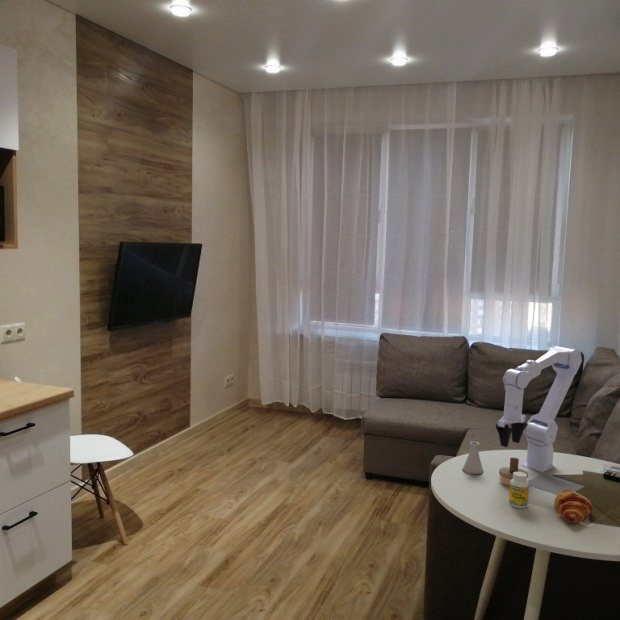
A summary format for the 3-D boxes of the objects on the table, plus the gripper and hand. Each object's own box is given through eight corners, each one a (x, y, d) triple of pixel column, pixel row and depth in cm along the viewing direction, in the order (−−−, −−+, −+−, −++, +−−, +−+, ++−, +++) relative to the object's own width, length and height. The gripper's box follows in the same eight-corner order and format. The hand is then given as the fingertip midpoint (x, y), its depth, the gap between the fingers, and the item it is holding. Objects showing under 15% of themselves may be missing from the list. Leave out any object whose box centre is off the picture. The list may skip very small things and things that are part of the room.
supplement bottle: (527, 502, 185) (529, 472, 184) (527, 509, 180) (530, 478, 179) (508, 499, 187) (510, 469, 186) (508, 506, 182) (510, 475, 181)
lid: (506, 467, 206) (507, 452, 205) (532, 474, 200) (533, 459, 199) (494, 474, 199) (495, 458, 199) (520, 482, 193) (522, 466, 193)
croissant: (561, 508, 190) (549, 484, 191) (593, 499, 187) (582, 474, 187) (561, 536, 171) (548, 509, 172) (597, 526, 167) (584, 499, 168)
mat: (543, 474, 209) (543, 473, 209) (584, 487, 198) (584, 486, 198) (523, 484, 199) (523, 483, 199) (565, 498, 189) (565, 497, 189)
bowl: (507, 477, 205) (507, 468, 205) (527, 483, 200) (528, 475, 200) (495, 482, 200) (496, 473, 200) (516, 489, 195) (516, 480, 195)
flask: (481, 468, 213) (483, 440, 212) (485, 475, 206) (487, 447, 205) (460, 466, 214) (462, 439, 213) (463, 474, 206) (465, 445, 205)
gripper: (513, 410, 198) (509, 451, 199) (535, 404, 208) (531, 443, 209) (493, 405, 203) (490, 445, 204) (516, 400, 213) (512, 438, 214)
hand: (509, 444), depth 207 cm, fingers open, 7 cm apart
